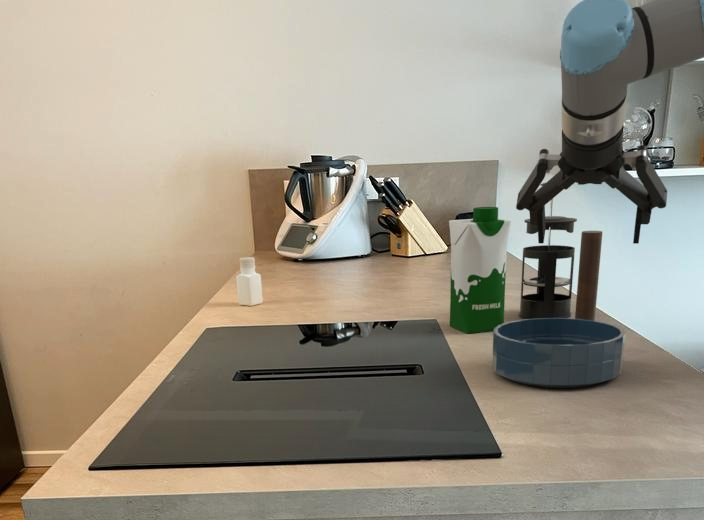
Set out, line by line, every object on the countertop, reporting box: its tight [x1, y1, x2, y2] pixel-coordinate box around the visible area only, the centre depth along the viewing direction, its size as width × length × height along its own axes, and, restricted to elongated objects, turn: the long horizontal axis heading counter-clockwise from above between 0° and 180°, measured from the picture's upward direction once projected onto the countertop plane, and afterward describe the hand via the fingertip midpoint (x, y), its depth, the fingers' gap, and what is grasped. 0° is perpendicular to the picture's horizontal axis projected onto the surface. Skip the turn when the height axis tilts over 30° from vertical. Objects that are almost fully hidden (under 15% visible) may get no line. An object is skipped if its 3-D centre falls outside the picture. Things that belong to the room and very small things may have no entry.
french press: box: [518, 182, 578, 319], centre depth 140 cm, size 12×9×23 cm
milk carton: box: [448, 206, 512, 334], centre depth 133 cm, size 9×9×20 cm
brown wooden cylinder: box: [574, 230, 603, 321], centre depth 129 cm, size 5×5×16 cm
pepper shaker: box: [235, 256, 264, 307], centre depth 164 cm, size 4×4×10 cm
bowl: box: [491, 317, 627, 389], centre depth 108 cm, size 17×17×6 cm
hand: (588, 236), depth 118 cm, fingers open, 13 cm apart
